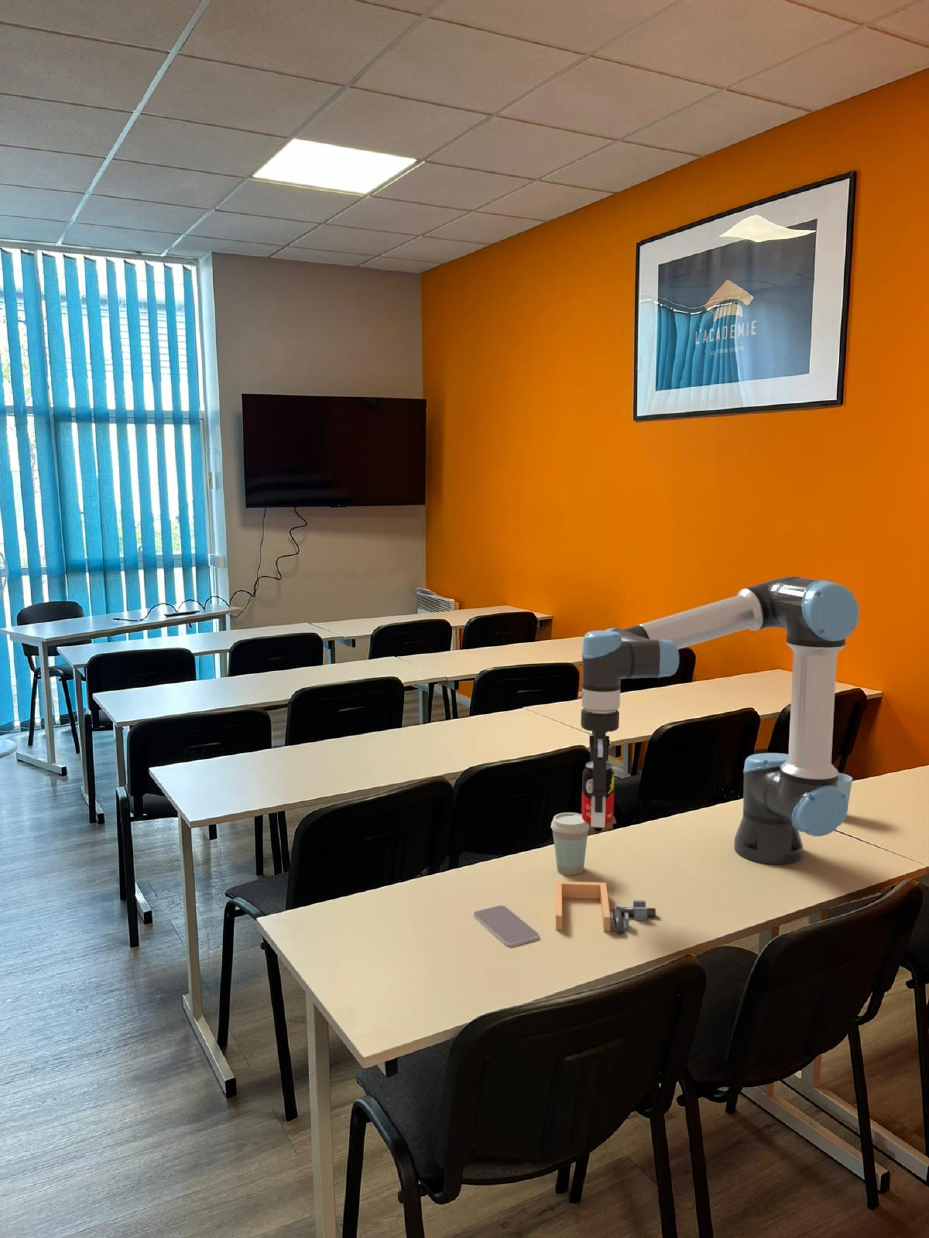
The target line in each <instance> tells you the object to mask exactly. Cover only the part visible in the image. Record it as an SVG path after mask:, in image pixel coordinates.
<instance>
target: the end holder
mask: <svg viewBox="0 0 929 1238" xmlns="http://www.w3.org/2000/svg"><path fill="white" fill-rule="evenodd" d="M607 889H608V888H607V882H598V881H596V882H593V881H590V882H589V881H564V880H563V881H560V880H559V881H555V930H556V931H562V930H563V899H564V898H566V899H568V898H569V899H570V898H571V899H596V900H597V899H600V900H599V901H600V908H601V909H600V910H601V918H602V927H603V932H606V933H610V932H611V930H610V912H611V911H610V906H609V905H610V904H609V895H608V890H607Z"/></svg>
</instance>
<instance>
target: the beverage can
mask: <svg viewBox="0 0 929 1238" xmlns="http://www.w3.org/2000/svg"><path fill="white" fill-rule="evenodd" d="M581 781H582V784H581V785H582V787H581V788H582V791H581V814H582V819H583V820H584V821H585V822H586V823H587V824H589V826H591V803H592V796H589V793H592V791H593V761H592V760H591V761H588V762H586V763H585V767H584V769H583V770H582V780H581ZM614 796H615V772H614V770H613V768H612V764H611V763H609V762H608V761H606V801H605V826H608V825H609V824H611V822H612V821H613V820H614V805H615V804H614V802H615V801H614V800H615V798H614Z"/></svg>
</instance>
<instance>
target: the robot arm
mask: <svg viewBox="0 0 929 1238" xmlns="http://www.w3.org/2000/svg"><path fill="white" fill-rule="evenodd" d="M859 608H860V607H859V604H858V601H857V598H856V596H855V595H854V594H853V593H852V592H851V590H849V589H848V588H847V587H845V586H844V585H842V584H840V583H836V582H833V581H830V580H825V579H815V578H806V577H802V576H801V577H800V576H794V575H793V576H784V577H779V578H775V579H773V580H769V581H765V582H762V583H759V584H755V585H752V586H749V587H748V586H747V587H745V588H741V589H740V590H739V591H738V592H737V595H735V596H732V597H728V598H724V599H722V600H718V601H715V602H711V603H709V604H705V605H701V606H698V607H695V608H690V609H688V610H684V611H682V612H678V613H674V614H670V615H668V616H665V617H660V618H658V619H655V620H650V621H647V622H645V623H640V624H637V625H634V626H631V627H627V628H624V629H622V628H618V627H613V628H607V629H606V630H592V631H588V632H587V633H586V632H585V634H584V636H583V642H582V650H581V658H582V660H581V662H582V664H581V666H582V668H581V672H582V674H581V676H582V677H581V679H582V681H581V690H582V691H579V692H578V697H579V698H580V697H581V707H582V709H581V711H580V727H581V728H582V729H584V730H585V731H589V732H591V734H590V735H589V741H588V743H589V748H590V749H589V750H590V760H591V762H592V761H593V791H592V793H589V796H592V803H591V825H590V827H591V828H605V827H606V825H605V801H606V762H608V761H609V748H610V745H611V744H610V743H611V741H610V740H611V739H610V735H607V734H606V733H609V732H610V733H611V732H615V731H617V730H618V729H619V728H620V711H619V709H620V708H621V680H623V679H625V680H626V679H627V680H628V679H649V678H658V679H660V678H664V677H671V676H673V675H675V674H676V672H677V670H678V669H679V665H680V653H679V650H680V649H683V648H687V647H690V646H693V645H696V644H697V645H698V644H700V643H703V642H706V641H710V640H714V639H716V638H720V637H723V636H727V635H730V634H733V633H736V632H740V631H744V630H747V629H748V630H750V631H754V632H755V631H758V630H759V631H760V630H763V629H770V628H771V629H772V628H777V629H778V628H779V629H785V630H786V635H785V636H786V637H785V638H786V639H785V641H786V643H785V644H786V645H787V647H789V648H790V649H791V651H792V652H793V654H792V656H793V657H792V671H791V672H792V673H791V674H792V675H791V691H790V692H791V694H790V697H791V698H790V714H789V715H790V717H789V718H790V719H789V738H788V754H787V753H779V752H764V753H755V754H751V755H748V756H747V758H746V759H745V760H744V768H743V771H742V772H743V795H742V796H743V797H742V798H743V801H742V818H741V821H740V823H739V826H738V829H737V831H736V834H735V836H734V843H733V844H734V845H733V848H734V851H735V852H736V853H737V854H738V855H739V856H741V857H743V858H745V859H748V860H751V861H753V862H757V863H763V864H772V865H784V864H791V863H795V862H799V860H801V859H802V857H803V855H804V854H803V853H804V846H803V845H804V844H803V842H802V838H801V835H800V832H802V833H805V834H806V835H809V836H812V837H823V836H827V835H829V834H831V833H833V832H834V831H836V830H837V829H838V827H839V826H841V825H842V824H843V822H844V821H845V819H846V818H847V814H848V811H849V803H848V800H847V797H846V795H845V794H844V793H843V791H842V790H841V789H839V788H838V773H839V770H838V769H837V768H836V767H835V766H834V764H832V752H833V751H832V750H833V733H834V716H835V715H834V714H835V700H836V699H835V696H836V695H835V694H836V676H837V675H836V674H837V673H836V672H837V661H838V660H837V659H838V658H837V657H838V653H839V652H840V651H841V650H843V649H844V648H845V647H846V639H847V638H848V637H850V636H851V635H852V634H853V630H855V629H856V628H857V627H858V622H859V619H860V609H859ZM845 817H846V818H845Z"/></svg>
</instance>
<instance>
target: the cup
mask: <svg viewBox="0 0 929 1238" xmlns="http://www.w3.org/2000/svg"><path fill="white" fill-rule="evenodd" d="M852 785H853V777H852V776H850V775H848V774H845V773H840V772H838V788H839V789H841V790H842V791H843V793H844V794H845V795H846V797H847V800H848V804H849V803H850V796H851V791H852ZM846 818H847V816H846V817H845V819H846Z"/></svg>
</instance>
